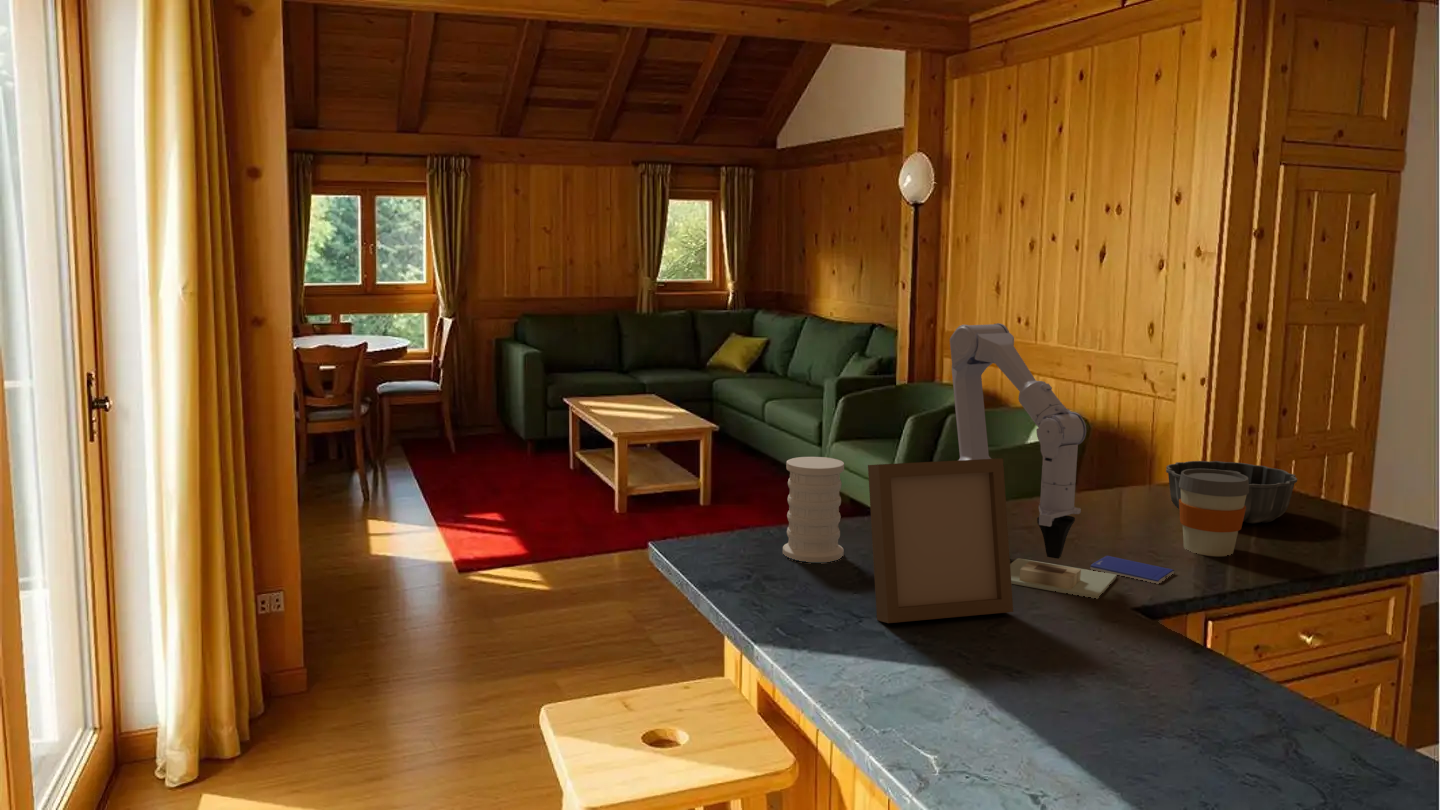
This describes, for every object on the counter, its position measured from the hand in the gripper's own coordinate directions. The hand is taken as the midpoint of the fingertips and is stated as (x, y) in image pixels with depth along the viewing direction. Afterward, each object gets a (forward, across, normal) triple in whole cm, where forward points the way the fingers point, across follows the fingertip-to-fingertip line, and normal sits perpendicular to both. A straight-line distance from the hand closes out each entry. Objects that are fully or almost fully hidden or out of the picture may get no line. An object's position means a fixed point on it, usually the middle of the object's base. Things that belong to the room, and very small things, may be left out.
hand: (1053, 556), depth 194 cm
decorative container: (+5, -9, +43) cm, 44 cm away
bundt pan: (+5, +70, -19) cm, 73 cm away
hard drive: (+5, +14, -10) cm, 19 cm away
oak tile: (+3, +2, 0) cm, 4 cm away
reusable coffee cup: (+5, +38, -20) cm, 43 cm away
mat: (+5, +2, 0) cm, 5 cm away
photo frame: (+5, -25, +13) cm, 29 cm away
